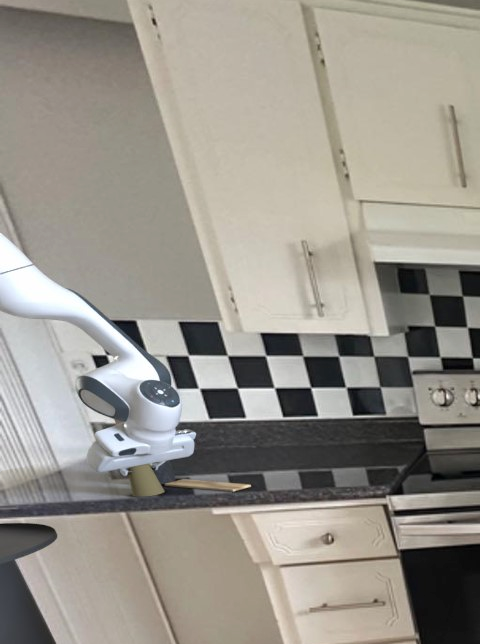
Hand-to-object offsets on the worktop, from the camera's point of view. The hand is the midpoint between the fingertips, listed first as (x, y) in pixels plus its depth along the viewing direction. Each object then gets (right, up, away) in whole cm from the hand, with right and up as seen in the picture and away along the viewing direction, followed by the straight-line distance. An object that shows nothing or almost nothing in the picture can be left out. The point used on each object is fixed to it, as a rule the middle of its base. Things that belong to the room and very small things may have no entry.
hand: (138, 470), depth 165 cm
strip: (+10, -3, +9) cm, 13 cm away
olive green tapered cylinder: (+1, -6, +2) cm, 6 cm away
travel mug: (-7, -1, +12) cm, 14 cm away
